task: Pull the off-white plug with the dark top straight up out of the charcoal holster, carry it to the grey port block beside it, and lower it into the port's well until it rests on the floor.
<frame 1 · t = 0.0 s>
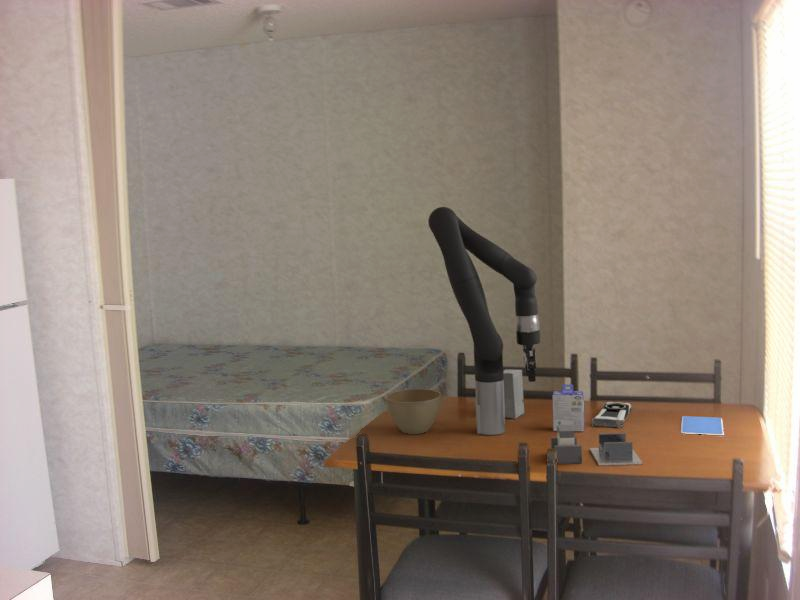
hand: (530, 378, 261), 17 cm above the table, tool pointing down, fingers open, 8 cm apart
holster: (566, 458, 233), on the table
ink cartridge box: (568, 430, 262), on the table
plug: (566, 458, 233), resting in holster
skincare box: (511, 415, 282), on the table
flower pot: (414, 431, 268), on the table
tablet computer: (701, 429, 258), on the table
graphics card: (614, 420, 273), on the table
port block: (615, 457, 233), on the table
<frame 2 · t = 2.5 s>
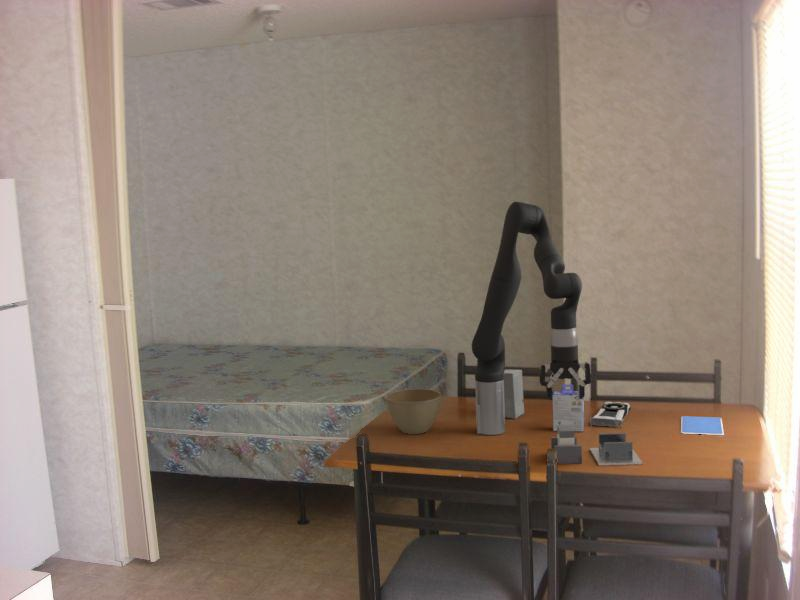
hand: (565, 399, 231), 17 cm above the table, tool pointing down, fingers open, 8 cm apart
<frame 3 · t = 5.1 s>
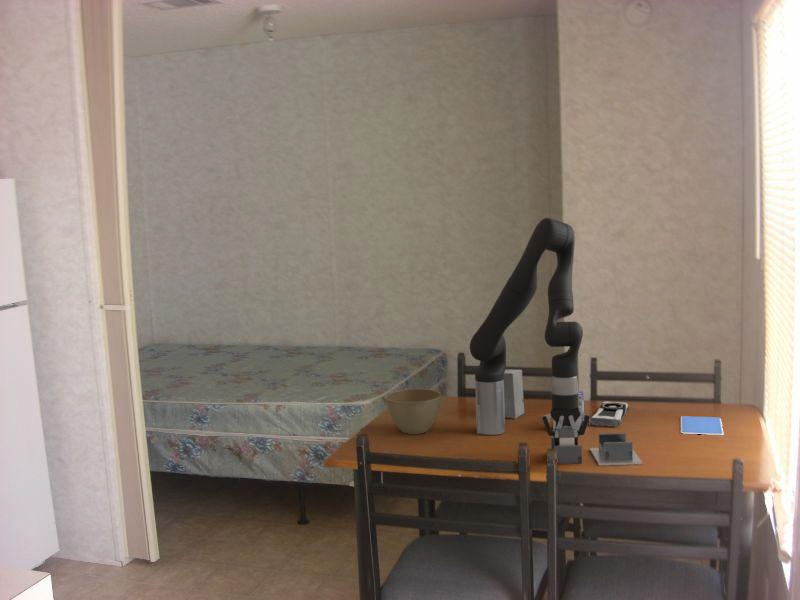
hand: (566, 448, 233), 3 cm above the table, tool pointing down, fingers closed on plug, 4 cm apart
plug: (566, 458, 233), resting in holster, touching gripper
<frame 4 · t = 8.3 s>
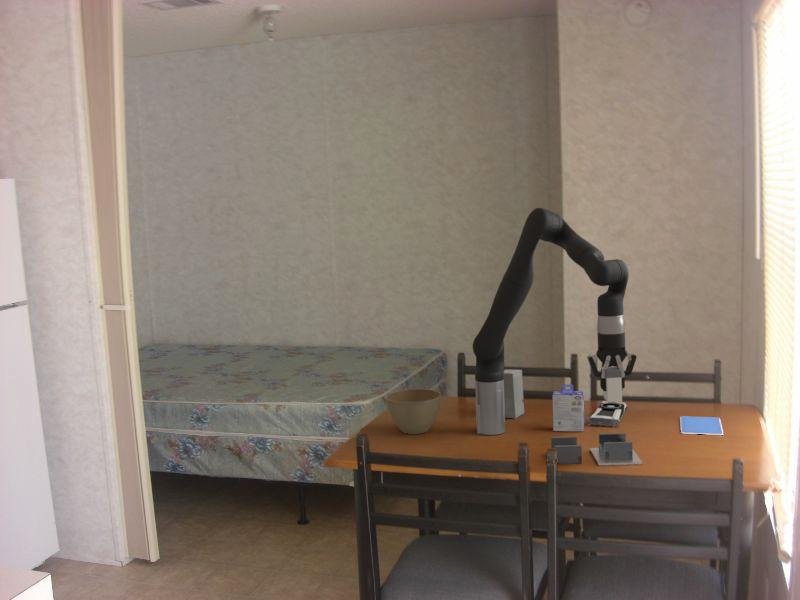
hand: (612, 390, 230), 20 cm above the table, tool pointing down, fingers closed on plug, 4 cm apart
plug: (612, 399, 230), point 17 cm above the table, touching gripper
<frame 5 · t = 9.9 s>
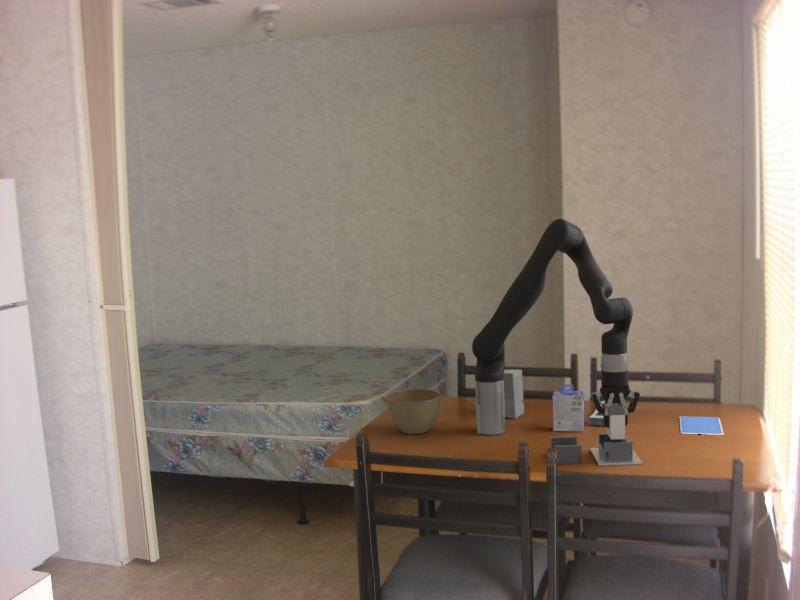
hand: (615, 426, 232), 9 cm above the table, tool pointing down, fingers closed on plug, 4 cm apart
plug: (615, 436, 232), point 6 cm above the table, touching gripper
when the fingers open (4 cm above the table, at t = 11.5 s): plug drops 1 cm, resting on port block.
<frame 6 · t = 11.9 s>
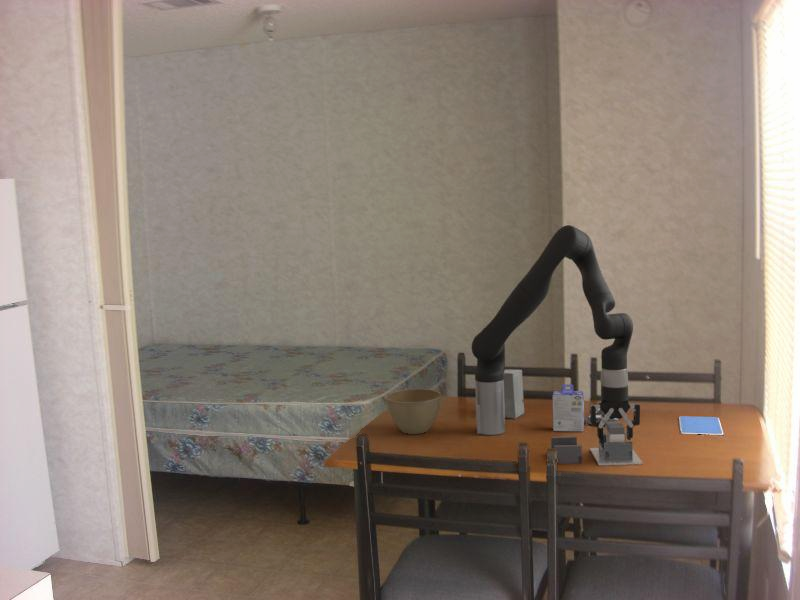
hand: (615, 439, 232), 5 cm above the table, tool pointing down, fingers open, 7 cm apart
plug: (615, 455, 232), point 1 cm above the table, touching port block
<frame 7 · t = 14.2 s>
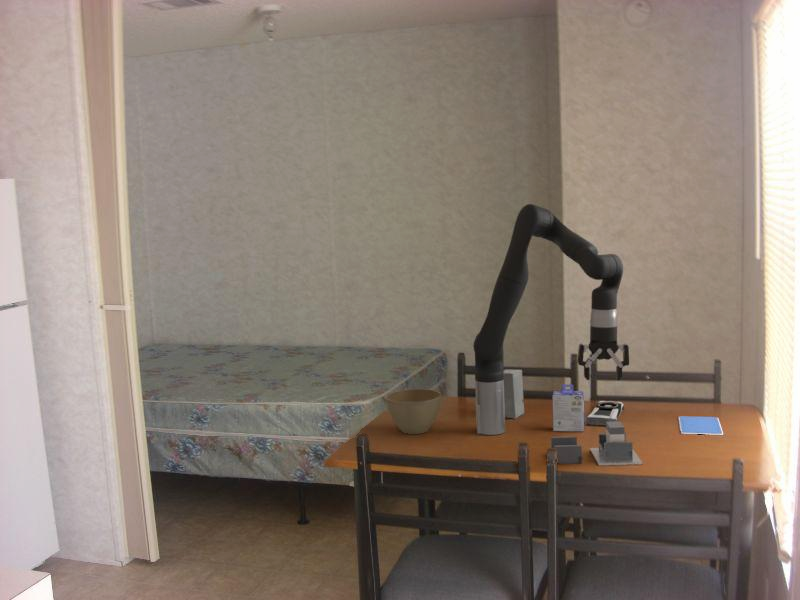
hand: (602, 379, 233), 22 cm above the table, tool pointing down, fingers open, 8 cm apart
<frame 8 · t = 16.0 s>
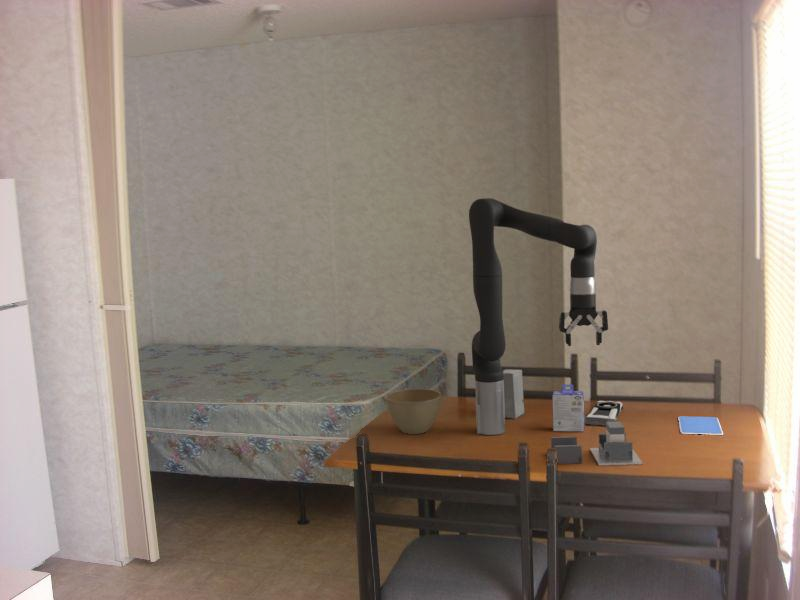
hand: (583, 345, 244), 30 cm above the table, tool pointing down, fingers open, 8 cm apart
at the end: plug 0.0 cm off-centre on the port block, point 0.6 cm above the port block's base; plug tilted 0°; the gripper is holding nothing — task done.
